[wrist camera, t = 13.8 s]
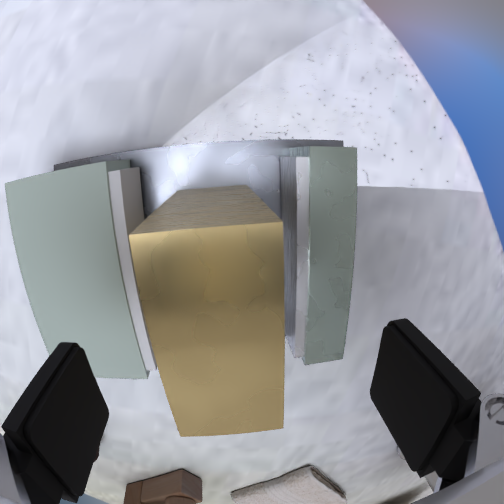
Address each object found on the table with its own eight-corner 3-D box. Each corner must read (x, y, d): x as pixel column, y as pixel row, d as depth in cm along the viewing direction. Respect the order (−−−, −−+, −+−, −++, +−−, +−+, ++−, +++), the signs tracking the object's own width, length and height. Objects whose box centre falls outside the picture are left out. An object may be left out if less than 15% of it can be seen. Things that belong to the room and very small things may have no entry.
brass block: (253, 309, 20) (283, 428, 10) (192, 314, 19) (180, 436, 10) (246, 184, 17) (283, 221, 8) (177, 190, 17) (128, 234, 7)
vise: (334, 141, 18) (374, 138, 13) (328, 319, 22) (356, 362, 17) (64, 163, 17) (18, 170, 12) (97, 335, 21) (73, 379, 16)
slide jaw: (139, 158, 16) (117, 159, 12) (165, 341, 20) (157, 378, 16) (40, 175, 15) (4, 183, 11) (77, 341, 19) (57, 374, 15)
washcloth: (285, 516, 36) (288, 530, 33) (225, 488, 30) (227, 506, 27) (349, 492, 35) (354, 506, 32) (308, 459, 30) (314, 478, 27)
